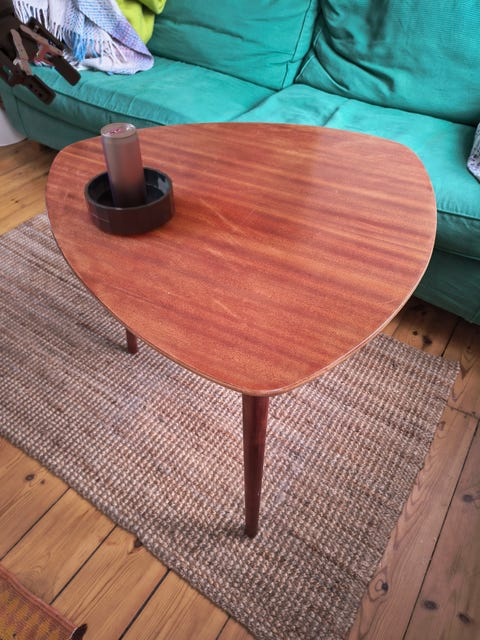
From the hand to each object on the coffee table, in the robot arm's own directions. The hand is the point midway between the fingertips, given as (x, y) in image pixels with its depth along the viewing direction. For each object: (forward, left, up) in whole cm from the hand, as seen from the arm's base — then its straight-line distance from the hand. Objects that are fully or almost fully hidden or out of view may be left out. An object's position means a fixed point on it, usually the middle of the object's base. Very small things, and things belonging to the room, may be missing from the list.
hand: (65, 90), depth 71 cm
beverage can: (+7, -2, -21) cm, 22 cm away
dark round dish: (+7, -2, -21) cm, 22 cm away
